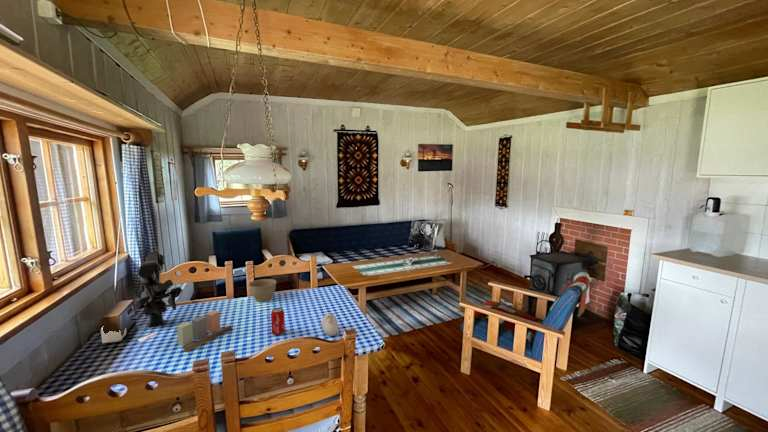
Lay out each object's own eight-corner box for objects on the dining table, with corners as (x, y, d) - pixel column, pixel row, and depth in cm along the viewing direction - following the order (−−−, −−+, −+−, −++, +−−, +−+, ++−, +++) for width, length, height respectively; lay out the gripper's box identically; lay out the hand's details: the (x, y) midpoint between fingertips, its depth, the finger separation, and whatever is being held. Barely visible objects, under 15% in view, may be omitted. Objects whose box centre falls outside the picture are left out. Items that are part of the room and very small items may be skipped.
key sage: (177, 344, 143) (176, 325, 142) (187, 340, 147) (186, 321, 146) (183, 346, 142) (182, 327, 140) (193, 342, 146) (192, 323, 144)
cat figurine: (335, 320, 151) (328, 305, 164) (320, 330, 149) (314, 314, 162) (344, 333, 154) (337, 317, 168) (330, 344, 153) (324, 327, 166)
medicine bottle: (126, 333, 155) (124, 310, 153) (120, 341, 148) (118, 316, 147) (108, 336, 152) (106, 312, 151) (101, 343, 145) (99, 318, 144)
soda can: (282, 328, 162) (281, 306, 160) (286, 333, 157) (286, 310, 155) (269, 332, 158) (269, 309, 156) (274, 337, 153) (273, 313, 151)
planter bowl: (282, 297, 203) (281, 281, 202) (262, 306, 189) (261, 288, 188) (264, 292, 211) (263, 277, 209) (243, 301, 197) (243, 284, 195)
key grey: (192, 337, 149) (191, 319, 148) (201, 333, 154) (200, 315, 152) (198, 339, 148) (197, 321, 147) (207, 335, 152) (206, 317, 151)
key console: (168, 347, 143) (168, 341, 142) (215, 326, 163) (214, 320, 163) (186, 354, 137) (186, 348, 137) (232, 331, 158) (231, 325, 158)
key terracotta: (206, 331, 156) (205, 313, 155) (214, 327, 160) (214, 310, 159) (212, 333, 154) (211, 315, 153) (220, 329, 158) (219, 311, 157)
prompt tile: (137, 340, 148) (137, 339, 148) (153, 334, 154) (153, 332, 154) (152, 347, 143) (152, 345, 143) (168, 339, 149) (168, 338, 149)
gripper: (136, 281, 140) (152, 310, 136) (178, 270, 156) (194, 296, 153) (127, 296, 144) (143, 323, 141) (170, 283, 161) (185, 308, 157)
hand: (168, 312), depth 148 cm, fingers open, 6 cm apart
